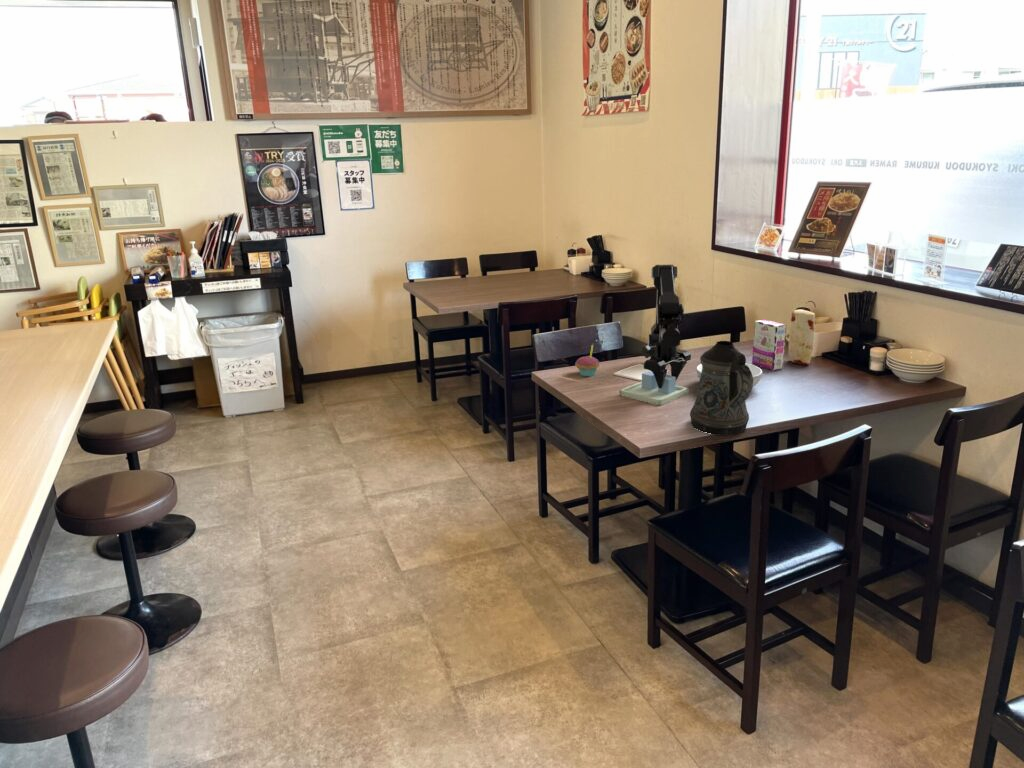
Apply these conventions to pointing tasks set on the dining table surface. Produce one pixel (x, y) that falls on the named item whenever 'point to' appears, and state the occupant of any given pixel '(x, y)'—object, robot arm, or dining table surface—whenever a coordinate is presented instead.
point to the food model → (801, 336)
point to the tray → (652, 394)
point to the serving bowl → (754, 369)
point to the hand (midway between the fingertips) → (666, 385)
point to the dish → (633, 372)
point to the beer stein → (722, 391)
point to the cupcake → (587, 364)
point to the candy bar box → (769, 344)
